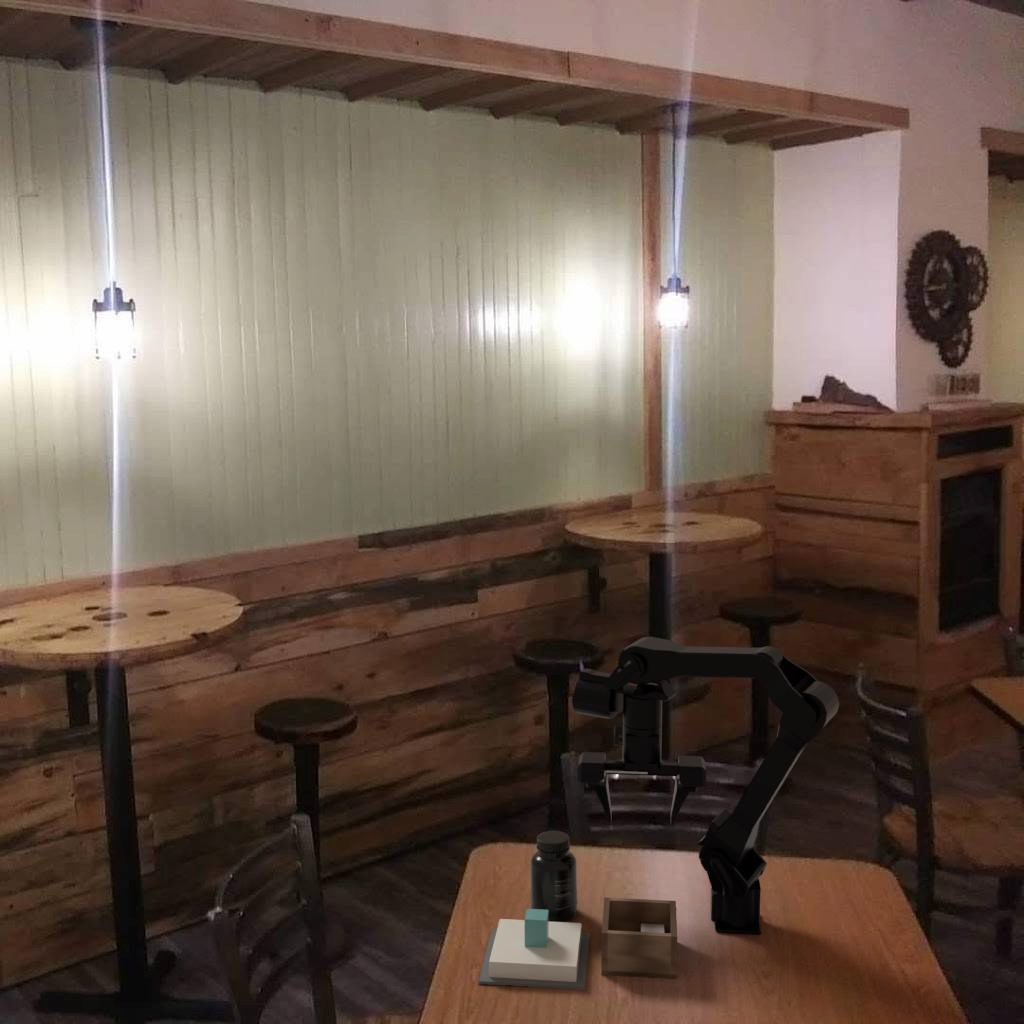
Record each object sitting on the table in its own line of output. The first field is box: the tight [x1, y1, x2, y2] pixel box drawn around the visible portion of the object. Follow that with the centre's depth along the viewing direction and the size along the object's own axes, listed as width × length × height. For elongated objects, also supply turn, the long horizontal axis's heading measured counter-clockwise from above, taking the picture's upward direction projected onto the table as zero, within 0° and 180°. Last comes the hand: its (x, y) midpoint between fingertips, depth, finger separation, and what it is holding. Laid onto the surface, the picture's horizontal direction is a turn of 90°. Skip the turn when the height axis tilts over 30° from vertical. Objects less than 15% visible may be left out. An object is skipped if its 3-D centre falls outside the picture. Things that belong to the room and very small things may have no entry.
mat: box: [478, 928, 591, 991], centre depth 169 cm, size 14×14×1 cm
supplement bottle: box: [529, 830, 578, 922], centre depth 180 cm, size 7×7×12 cm
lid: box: [489, 908, 583, 982], centre depth 168 cm, size 12×12×6 cm
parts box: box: [600, 896, 678, 980], centre depth 169 cm, size 10×10×6 cm
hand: (640, 823), depth 184 cm, fingers open, 9 cm apart
